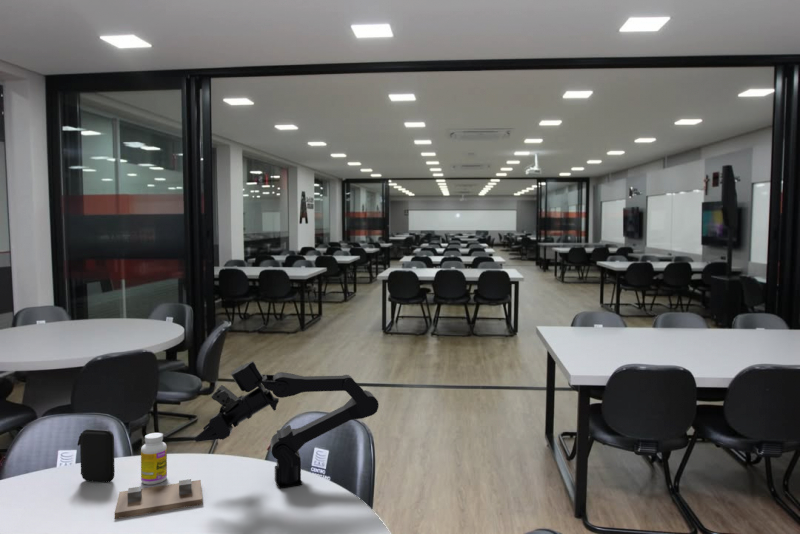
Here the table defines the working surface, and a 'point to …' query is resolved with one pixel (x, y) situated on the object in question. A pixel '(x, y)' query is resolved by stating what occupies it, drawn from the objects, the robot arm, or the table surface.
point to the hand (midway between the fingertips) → (199, 434)
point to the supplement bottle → (153, 459)
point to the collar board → (158, 498)
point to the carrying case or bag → (97, 455)
